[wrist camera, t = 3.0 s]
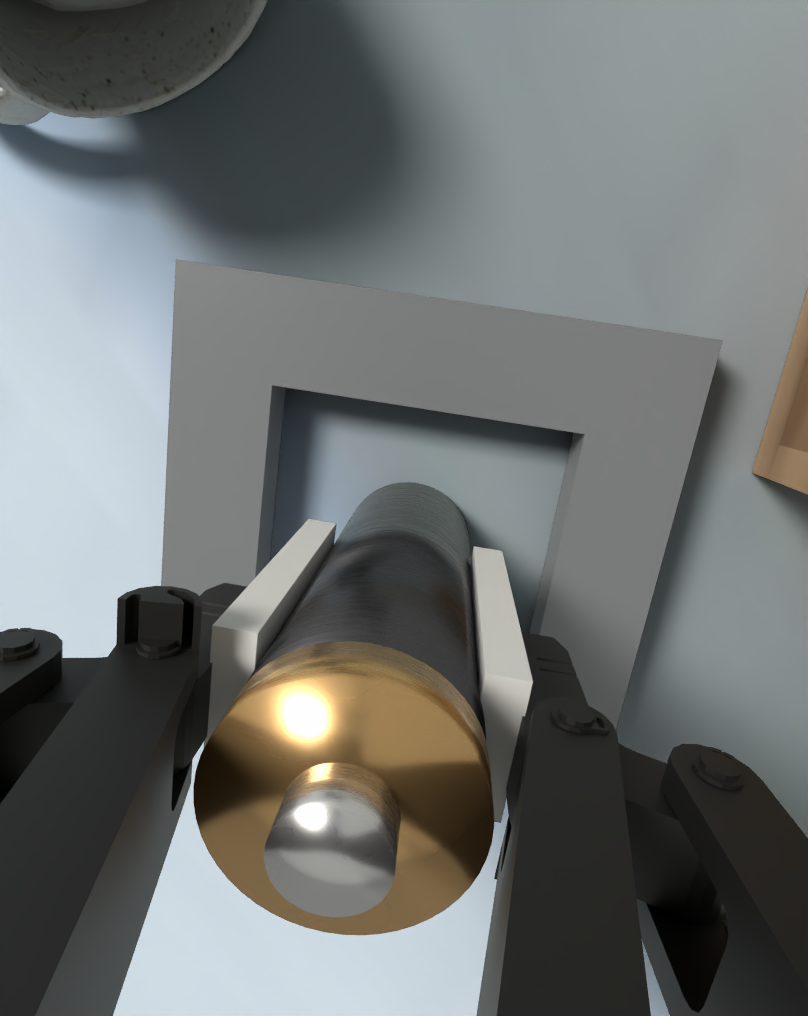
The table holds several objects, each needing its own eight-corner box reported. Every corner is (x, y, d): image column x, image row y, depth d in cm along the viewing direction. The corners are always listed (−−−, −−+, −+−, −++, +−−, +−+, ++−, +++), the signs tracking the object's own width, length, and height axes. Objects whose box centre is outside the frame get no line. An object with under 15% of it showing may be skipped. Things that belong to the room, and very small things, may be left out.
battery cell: (355, 472, 19) (173, 686, 7) (480, 492, 19) (530, 751, 7) (340, 588, 20) (158, 959, 8) (458, 608, 20) (465, 1020, 8)
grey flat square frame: (198, 267, 18) (172, 257, 16) (700, 341, 17) (726, 340, 16) (175, 701, 22) (152, 729, 20) (584, 776, 21) (596, 811, 19)
